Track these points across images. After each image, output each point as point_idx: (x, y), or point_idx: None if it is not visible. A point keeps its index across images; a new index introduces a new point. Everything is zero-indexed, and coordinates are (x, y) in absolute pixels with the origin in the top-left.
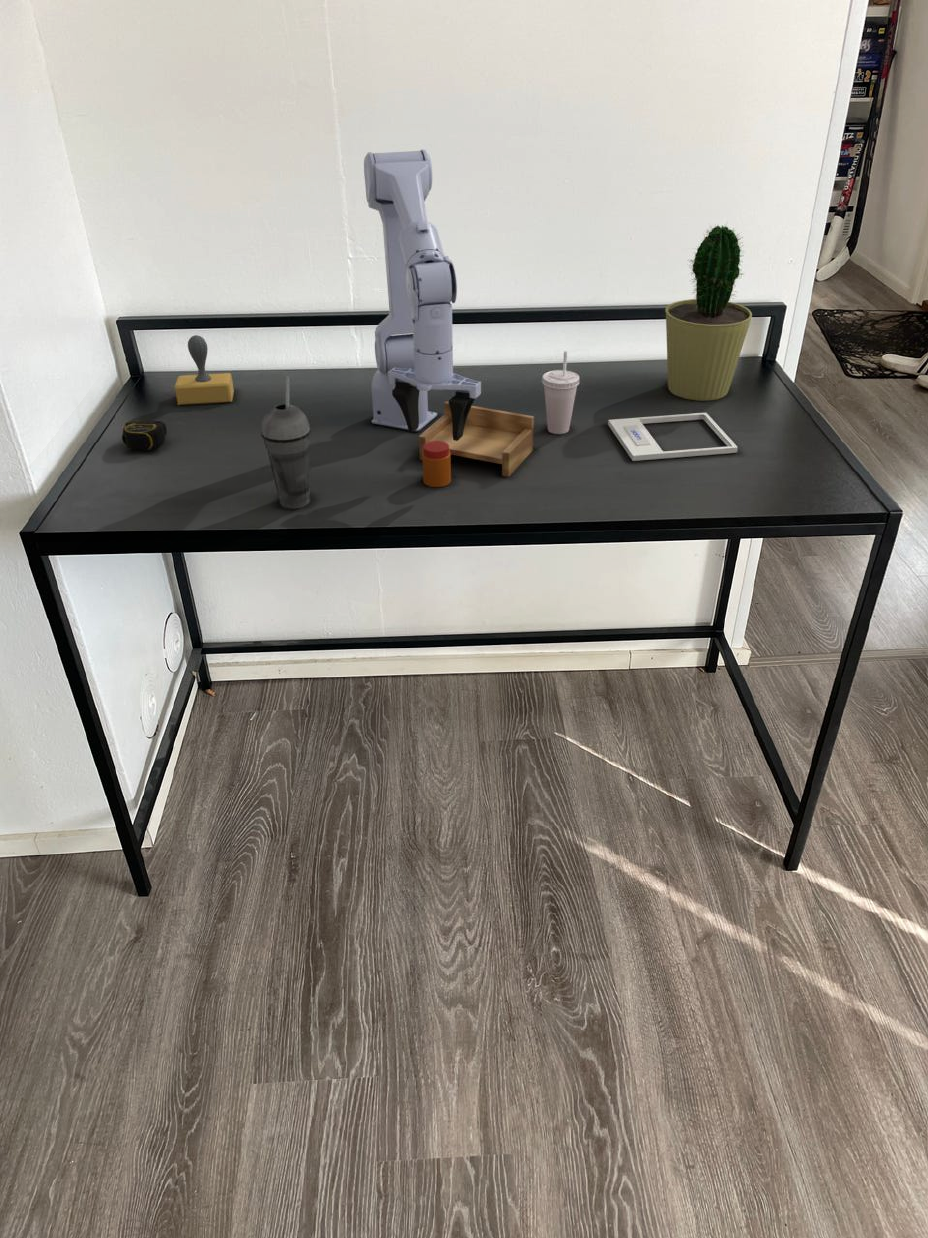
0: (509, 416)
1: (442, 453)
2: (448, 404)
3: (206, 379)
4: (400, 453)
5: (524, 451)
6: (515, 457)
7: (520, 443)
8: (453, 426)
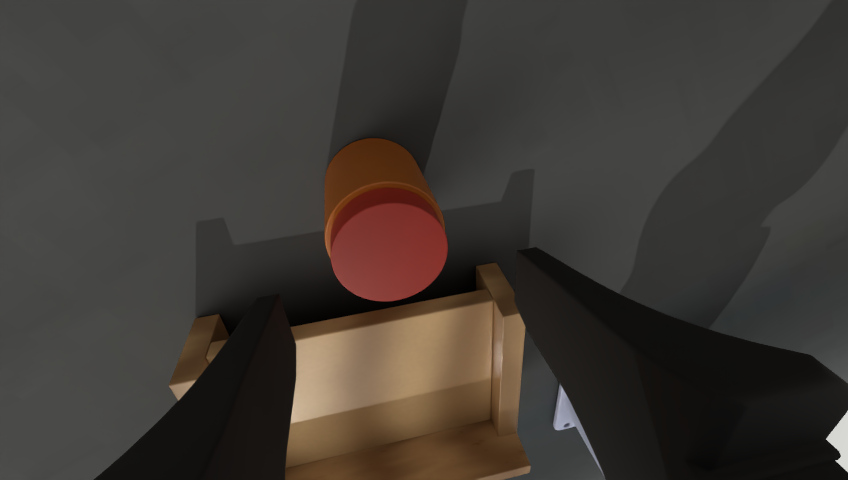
0: None
1: (336, 229)
2: (516, 465)
3: None
4: (561, 260)
5: None
6: None
7: None
8: (248, 350)
